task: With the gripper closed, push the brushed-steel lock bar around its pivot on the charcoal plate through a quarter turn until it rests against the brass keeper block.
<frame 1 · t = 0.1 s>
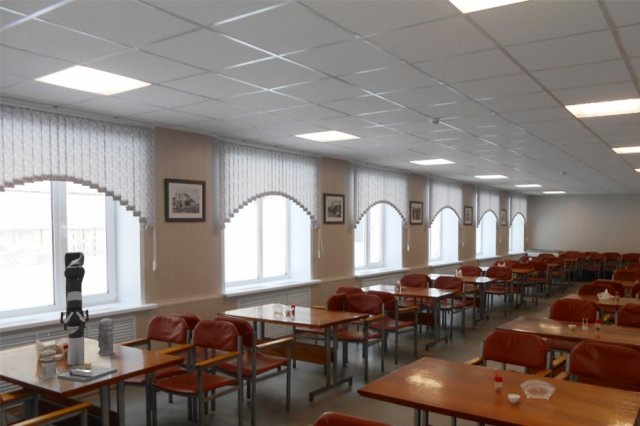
hand: (74, 329, 276), 31 cm above the table, tool tilted 20°, fingers open, 8 cm apart
jamb plate: (87, 374, 300), on the table
lock bar: (80, 372, 293), point 3 cm above the table, hinge at 0.0°
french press: (48, 375, 300), on the table
figurine: (105, 353, 352), on the table
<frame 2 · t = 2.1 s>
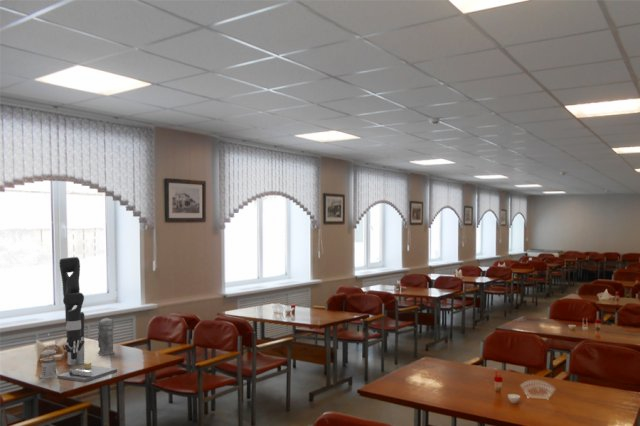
hand: (74, 359, 284), 13 cm above the table, tool pointing down, fingers closed
nothing on the table moved.
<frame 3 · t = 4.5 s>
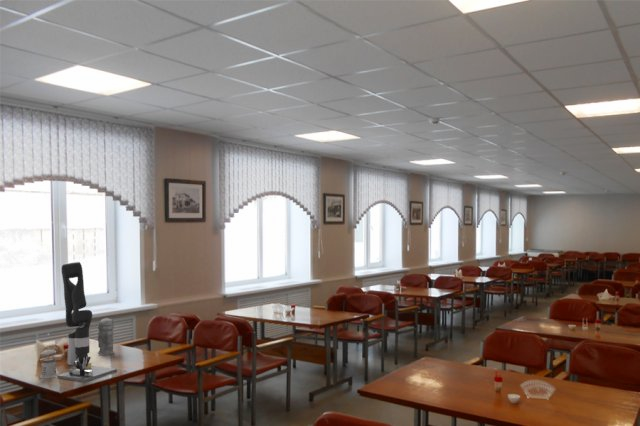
hand: (82, 375, 289), 2 cm above the table, tool pointing down, fingers closed
lock bar: (80, 372, 294), point 3 cm above the table, hinge at 3.2°, touching gripper
everything else where it was.
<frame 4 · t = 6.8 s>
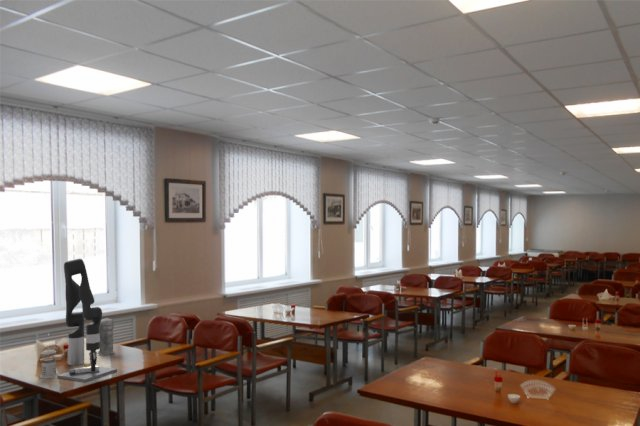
hand: (93, 370, 297), 3 cm above the table, tool pointing down, fingers closed
lock bar: (84, 369, 299), point 3 cm above the table, hinge at 49.4°, touching gripper
everything else where it was.
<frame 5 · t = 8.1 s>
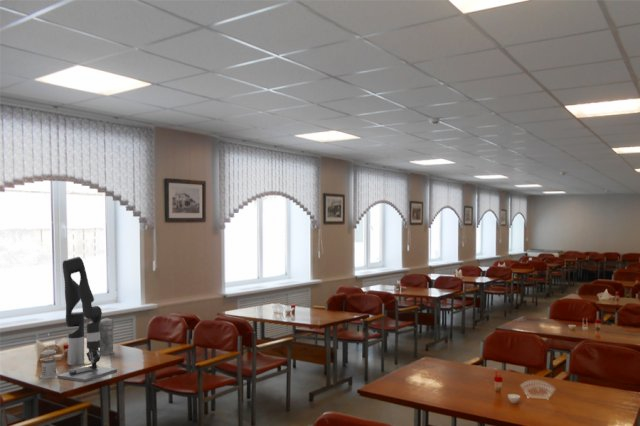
hand: (94, 368, 302), 3 cm above the table, tool pointing down, fingers closed
lock bar: (83, 369, 300), point 3 cm above the table, hinge at 72.8°, touching gripper
everything else where it was.
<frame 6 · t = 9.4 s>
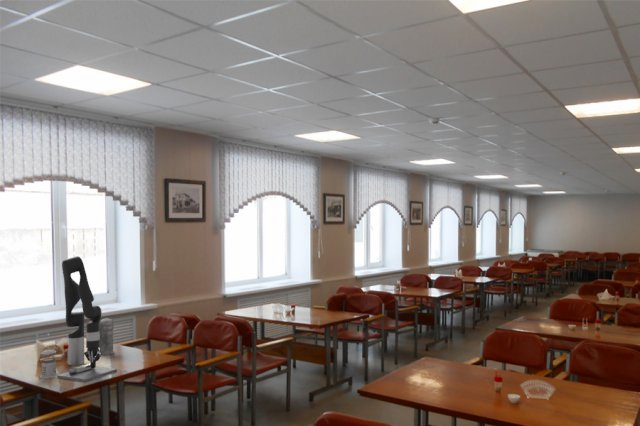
hand: (93, 368, 304), 3 cm above the table, tool pointing down, fingers closed
lock bar: (81, 368, 301), point 3 cm above the table, hinge at 87.9°
everything else where it was.
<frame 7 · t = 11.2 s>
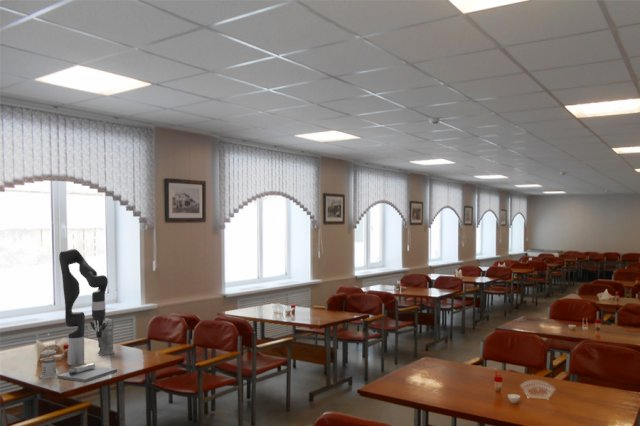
hand: (99, 337, 304), 21 cm above the table, tool pointing down, fingers closed
nothing on the table moved.
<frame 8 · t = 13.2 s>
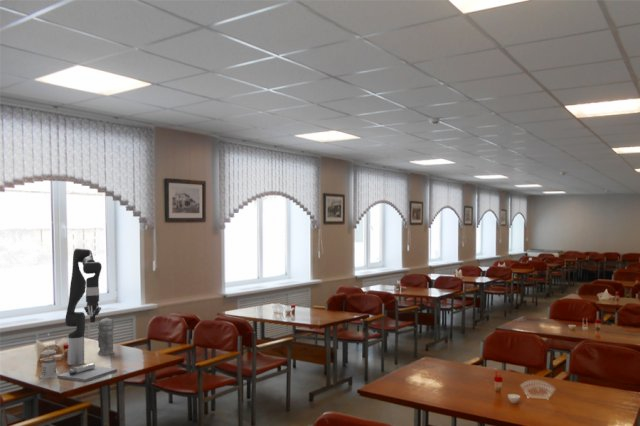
hand: (92, 322, 312), 29 cm above the table, tool pointing down, fingers closed
nothing on the table moved.
at the end: lock bar at +88° (first picture: +0°); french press moved 0.2 cm from its start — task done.
